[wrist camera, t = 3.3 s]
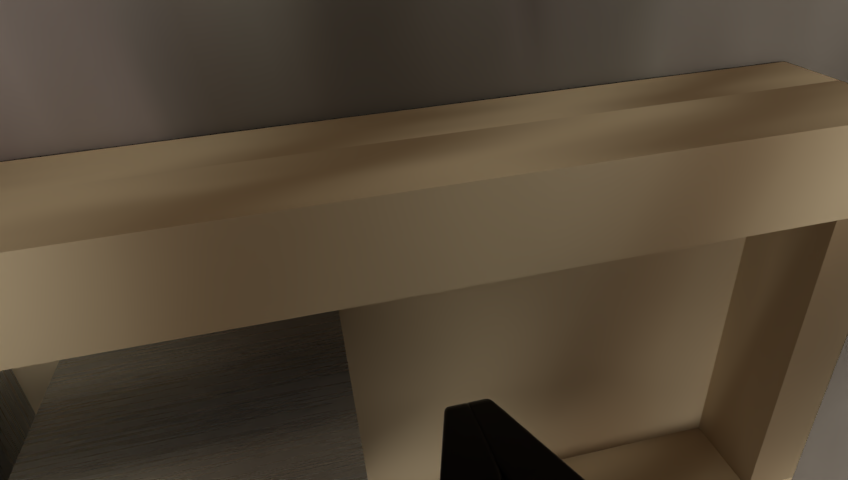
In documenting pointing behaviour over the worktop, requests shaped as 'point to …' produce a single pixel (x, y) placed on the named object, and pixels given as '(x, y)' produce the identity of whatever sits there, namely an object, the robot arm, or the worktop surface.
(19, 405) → the grey square block
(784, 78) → the wooden tray
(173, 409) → the grey cube
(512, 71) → the worktop surface
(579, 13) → the worktop surface
